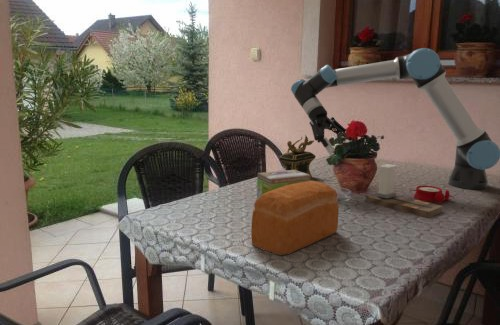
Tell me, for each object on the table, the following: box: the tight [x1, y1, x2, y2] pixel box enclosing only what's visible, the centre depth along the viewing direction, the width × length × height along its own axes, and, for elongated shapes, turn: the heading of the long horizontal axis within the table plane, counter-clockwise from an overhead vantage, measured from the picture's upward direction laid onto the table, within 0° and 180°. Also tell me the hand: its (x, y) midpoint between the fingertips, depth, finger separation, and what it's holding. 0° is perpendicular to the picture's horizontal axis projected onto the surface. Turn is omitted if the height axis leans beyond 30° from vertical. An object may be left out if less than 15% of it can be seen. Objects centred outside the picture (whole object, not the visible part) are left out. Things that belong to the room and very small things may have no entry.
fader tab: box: [374, 163, 398, 199], centre depth 151 cm, size 5×6×11 cm
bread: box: [250, 180, 340, 256], centre depth 115 cm, size 14×26×16 cm, turn 135°
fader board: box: [365, 193, 444, 218], centre depth 147 cm, size 24×10×2 cm, turn 40°
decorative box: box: [278, 134, 316, 177], centre depth 191 cm, size 20×10×20 cm, turn 135°
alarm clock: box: [409, 185, 455, 204], centre depth 156 cm, size 10×6×15 cm
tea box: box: [256, 169, 312, 200], centre depth 135 cm, size 15×10×15 cm
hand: (342, 150), depth 164 cm, fingers open, 12 cm apart
